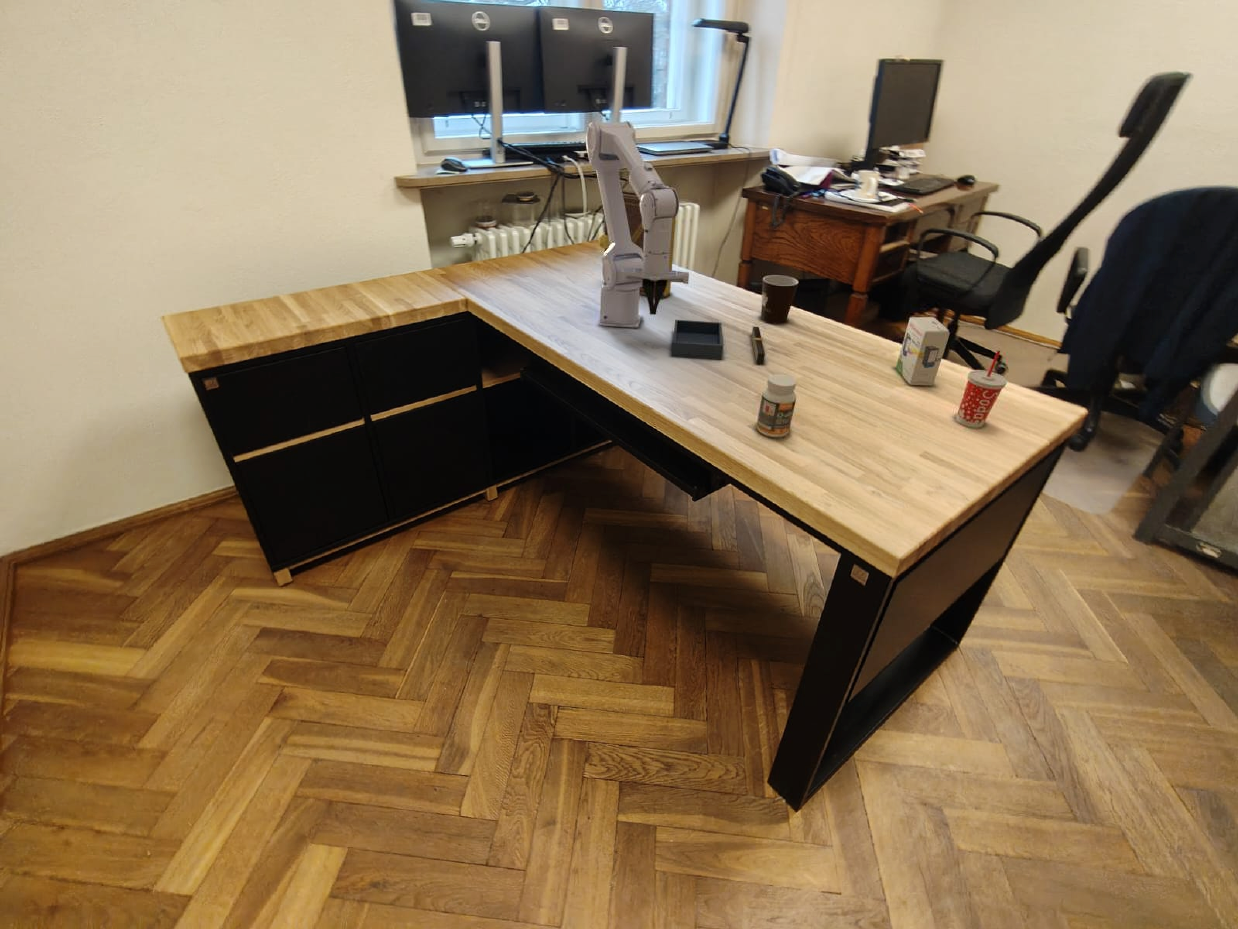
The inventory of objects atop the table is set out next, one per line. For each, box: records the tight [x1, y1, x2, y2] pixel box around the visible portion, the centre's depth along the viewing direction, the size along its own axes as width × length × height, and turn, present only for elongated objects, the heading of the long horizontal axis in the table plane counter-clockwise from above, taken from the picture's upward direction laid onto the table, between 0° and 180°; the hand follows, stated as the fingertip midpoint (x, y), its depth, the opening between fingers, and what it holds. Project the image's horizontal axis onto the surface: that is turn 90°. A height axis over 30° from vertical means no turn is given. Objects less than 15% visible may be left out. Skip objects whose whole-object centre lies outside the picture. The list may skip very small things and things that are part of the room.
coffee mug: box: [760, 274, 799, 325], centre depth 148 cm, size 12×9×10 cm
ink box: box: [895, 316, 951, 386], centre depth 120 cm, size 9×5×12 cm, turn 178°
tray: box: [671, 319, 724, 361], centre depth 134 cm, size 11×14×3 cm
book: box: [598, 189, 677, 300], centre depth 160 cm, size 22×8×25 cm, turn 58°
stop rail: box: [750, 326, 766, 365], centre depth 133 cm, size 2×16×3 cm, turn 173°
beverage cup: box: [955, 349, 1008, 429], centre depth 104 cm, size 6×6×14 cm
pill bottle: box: [756, 373, 797, 438], centre depth 101 cm, size 6×6×10 cm
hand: (653, 313), depth 131 cm, fingers closed
